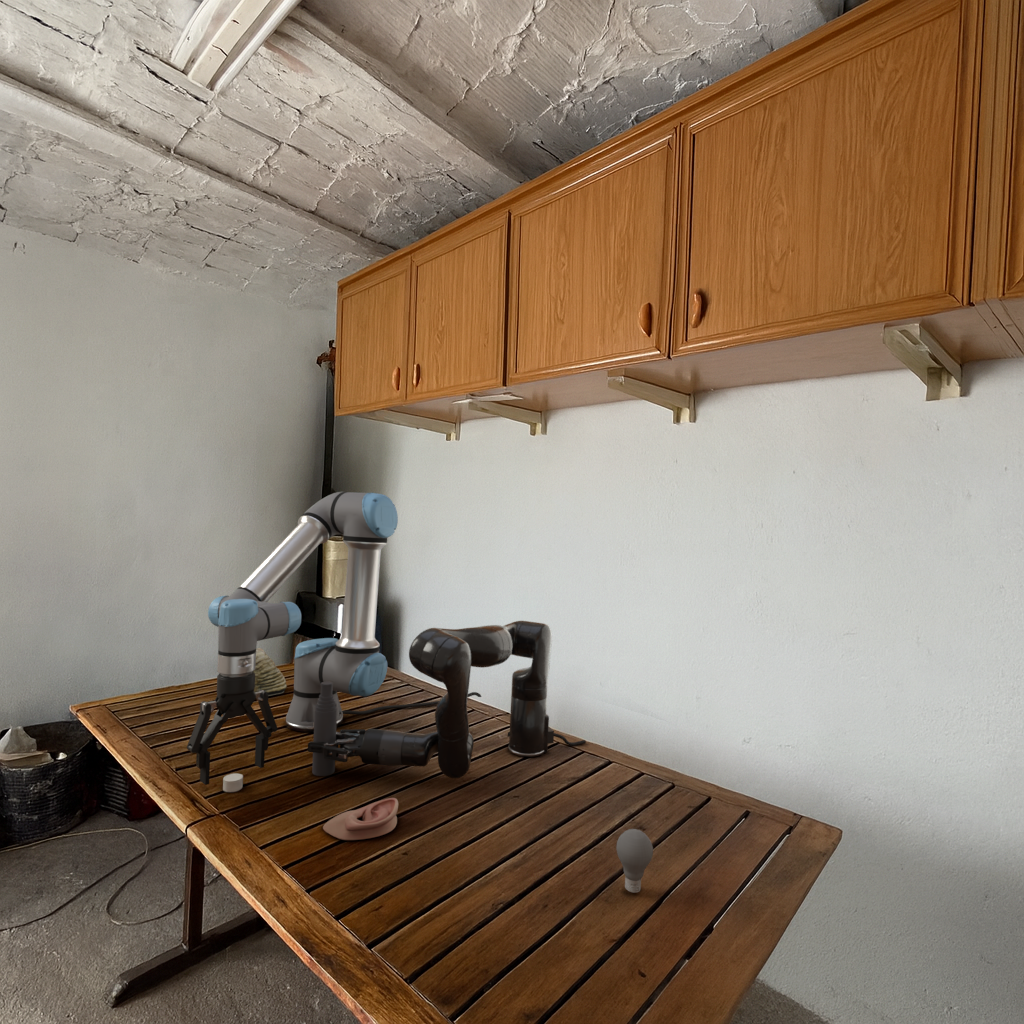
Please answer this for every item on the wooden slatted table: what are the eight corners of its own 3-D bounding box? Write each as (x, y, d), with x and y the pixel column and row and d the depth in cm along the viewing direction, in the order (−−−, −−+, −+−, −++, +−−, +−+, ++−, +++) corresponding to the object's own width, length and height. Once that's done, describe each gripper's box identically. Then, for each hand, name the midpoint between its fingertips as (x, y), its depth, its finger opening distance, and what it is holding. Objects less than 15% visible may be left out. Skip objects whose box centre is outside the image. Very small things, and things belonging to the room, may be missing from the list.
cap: (242, 791, 135) (242, 780, 135) (222, 793, 133) (222, 782, 133) (243, 783, 138) (243, 772, 138) (223, 785, 137) (224, 774, 137)
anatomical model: (315, 814, 118) (343, 787, 129) (314, 835, 118) (343, 807, 129) (382, 825, 115) (405, 796, 127) (381, 846, 116) (404, 816, 127)
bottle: (323, 778, 143) (326, 687, 142) (307, 772, 145) (310, 683, 145) (339, 770, 147) (342, 682, 146) (323, 765, 149) (327, 678, 149)
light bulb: (610, 879, 108) (613, 822, 108) (644, 879, 109) (647, 822, 109) (619, 902, 102) (622, 840, 102) (655, 901, 103) (658, 840, 103)
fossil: (218, 695, 195) (220, 647, 195) (278, 685, 208) (279, 640, 207) (228, 703, 189) (230, 653, 188) (289, 692, 201) (290, 645, 201)
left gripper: (186, 687, 124) (182, 797, 124) (296, 666, 142) (292, 763, 142) (170, 678, 129) (167, 785, 129) (279, 660, 147) (275, 753, 147)
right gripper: (394, 720, 152) (325, 715, 153) (376, 743, 137) (300, 737, 139) (393, 751, 152) (324, 746, 153) (375, 777, 138) (299, 771, 139)
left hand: (232, 773), depth 136 cm, fingers open, 11 cm apart
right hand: (313, 741), depth 146 cm, fingers closed on bottle, 5 cm apart
